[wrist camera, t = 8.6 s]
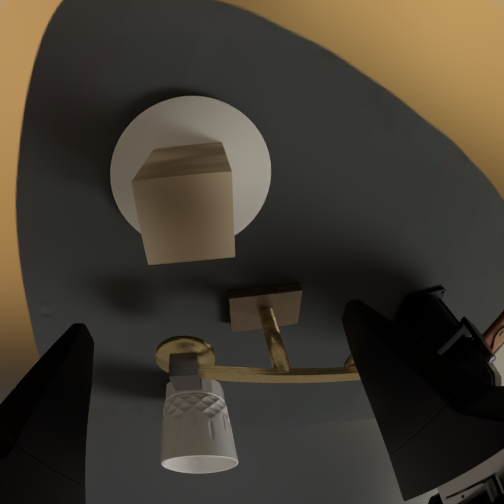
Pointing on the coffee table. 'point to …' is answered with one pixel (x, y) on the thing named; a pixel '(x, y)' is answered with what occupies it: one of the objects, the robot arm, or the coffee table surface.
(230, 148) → the dish
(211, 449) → the white cup
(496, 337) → the sunglasses case
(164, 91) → the coffee table surface
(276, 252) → the coffee table surface
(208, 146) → the block
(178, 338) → the balance
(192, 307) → the coffee table surface
